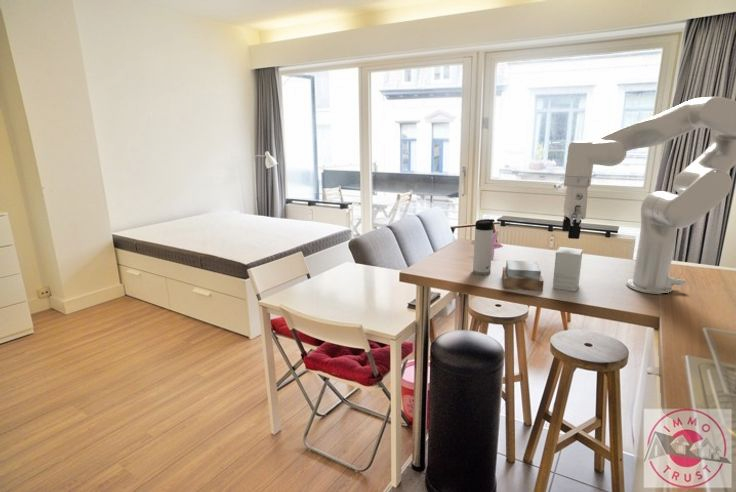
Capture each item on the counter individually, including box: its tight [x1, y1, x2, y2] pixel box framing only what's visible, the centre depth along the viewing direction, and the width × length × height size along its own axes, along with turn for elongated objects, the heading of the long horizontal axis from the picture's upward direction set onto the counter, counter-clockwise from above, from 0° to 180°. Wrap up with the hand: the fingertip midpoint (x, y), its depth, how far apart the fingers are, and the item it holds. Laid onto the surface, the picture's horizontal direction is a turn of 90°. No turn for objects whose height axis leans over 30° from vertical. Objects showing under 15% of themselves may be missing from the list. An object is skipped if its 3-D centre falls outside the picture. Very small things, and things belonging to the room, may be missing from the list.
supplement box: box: [552, 246, 584, 292], centre depth 141 cm, size 7×7×13 cm
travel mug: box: [472, 218, 496, 276], centre depth 155 cm, size 6×7×20 cm
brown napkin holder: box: [501, 259, 544, 292], centre depth 146 cm, size 12×12×6 cm
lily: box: [470, 230, 504, 260], centre depth 178 cm, size 12×12×10 cm
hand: (570, 234), depth 138 cm, fingers open, 9 cm apart
